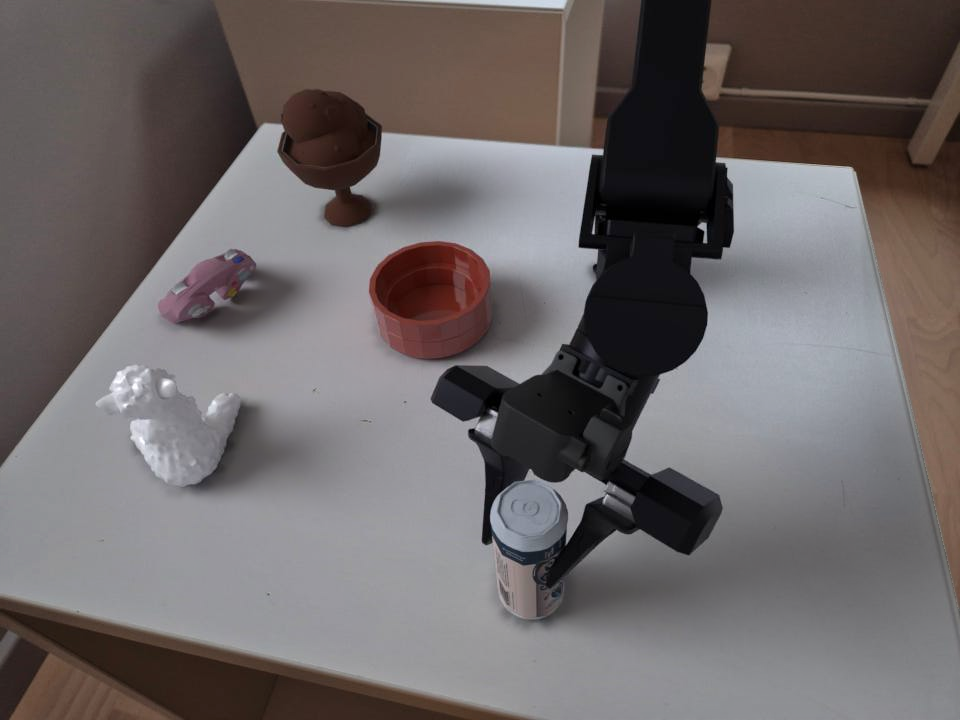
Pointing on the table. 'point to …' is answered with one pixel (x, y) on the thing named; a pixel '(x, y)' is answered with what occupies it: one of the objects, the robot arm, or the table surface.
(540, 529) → the beer can
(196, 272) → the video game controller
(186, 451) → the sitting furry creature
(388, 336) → the red bowl
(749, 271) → the table surface
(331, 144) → the ice cream bowl
